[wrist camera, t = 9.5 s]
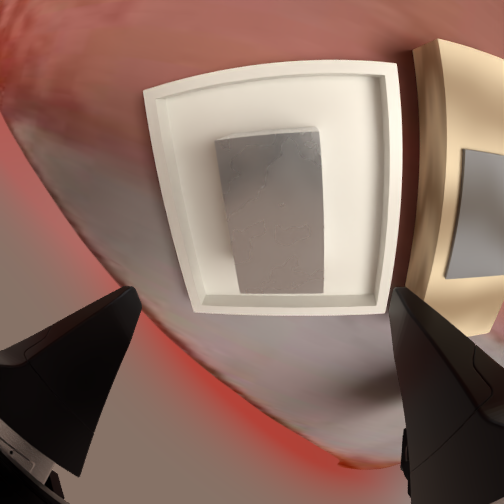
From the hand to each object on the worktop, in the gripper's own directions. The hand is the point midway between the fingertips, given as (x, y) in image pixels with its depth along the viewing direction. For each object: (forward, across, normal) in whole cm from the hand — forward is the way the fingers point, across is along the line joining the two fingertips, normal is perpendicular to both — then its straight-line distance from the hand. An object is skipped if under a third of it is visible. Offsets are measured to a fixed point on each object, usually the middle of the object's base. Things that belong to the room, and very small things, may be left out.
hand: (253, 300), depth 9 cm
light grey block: (+10, 0, 0) cm, 10 cm away
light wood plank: (+11, -14, 0) cm, 17 cm away
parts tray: (+11, 0, 0) cm, 11 cm away
